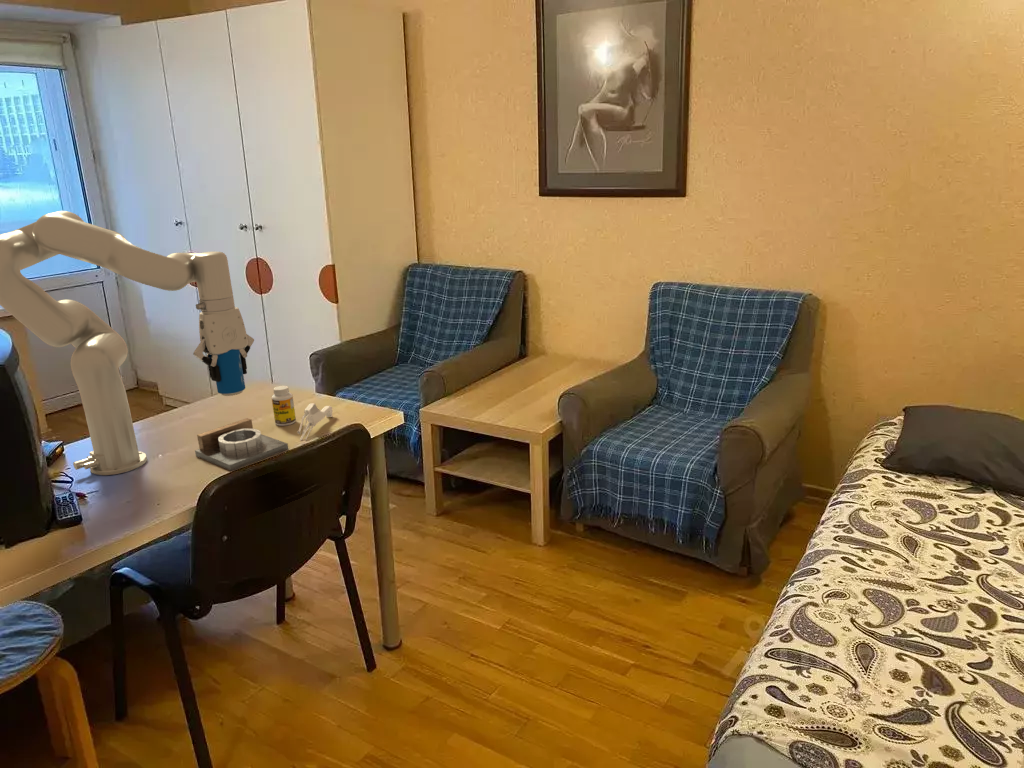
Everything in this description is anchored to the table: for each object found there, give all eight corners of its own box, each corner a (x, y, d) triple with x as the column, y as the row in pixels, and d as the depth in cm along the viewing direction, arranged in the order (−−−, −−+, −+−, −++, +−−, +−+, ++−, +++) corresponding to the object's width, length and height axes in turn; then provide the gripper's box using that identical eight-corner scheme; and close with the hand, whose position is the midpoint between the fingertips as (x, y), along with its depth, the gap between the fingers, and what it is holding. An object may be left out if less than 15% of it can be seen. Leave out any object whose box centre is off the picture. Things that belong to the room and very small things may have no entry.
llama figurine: (313, 459, 203) (334, 412, 217) (301, 428, 196) (324, 382, 210) (307, 459, 204) (328, 412, 217) (294, 428, 196) (317, 382, 210)
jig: (231, 470, 182) (227, 449, 181) (196, 456, 192) (192, 435, 191) (288, 449, 194) (285, 428, 192) (252, 436, 204) (249, 416, 202)
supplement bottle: (272, 426, 210) (266, 391, 207) (279, 419, 215) (274, 384, 212) (291, 426, 210) (286, 390, 207) (299, 419, 215) (294, 384, 212)
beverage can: (240, 396, 187) (233, 348, 183) (214, 397, 187) (206, 349, 183) (249, 388, 193) (242, 341, 189) (223, 389, 193) (215, 342, 189)
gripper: (192, 313, 175) (205, 389, 180) (258, 299, 187) (268, 370, 193) (175, 310, 179) (188, 384, 185) (240, 296, 192) (251, 366, 197)
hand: (229, 376), depth 189 cm, fingers closed on beverage can, 6 cm apart
